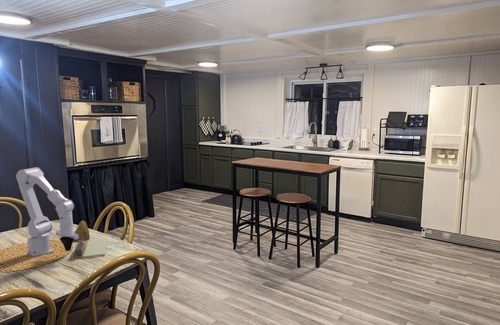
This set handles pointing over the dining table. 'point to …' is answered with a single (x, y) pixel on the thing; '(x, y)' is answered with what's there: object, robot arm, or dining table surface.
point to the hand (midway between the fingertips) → (68, 250)
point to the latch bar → (79, 249)
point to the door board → (92, 249)
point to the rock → (82, 231)
